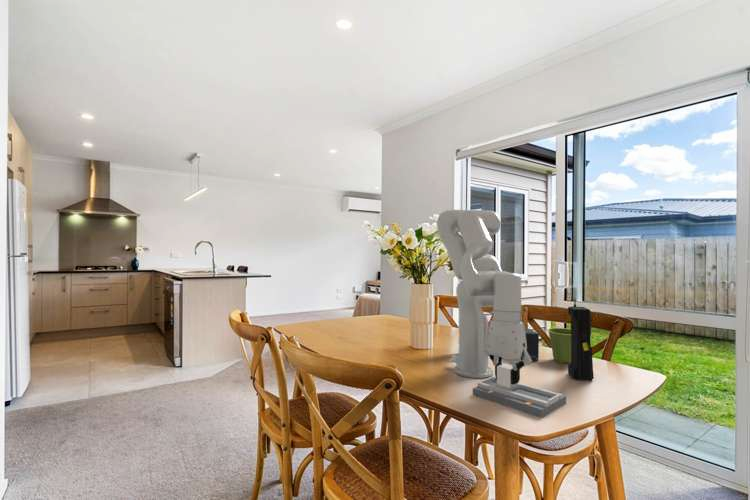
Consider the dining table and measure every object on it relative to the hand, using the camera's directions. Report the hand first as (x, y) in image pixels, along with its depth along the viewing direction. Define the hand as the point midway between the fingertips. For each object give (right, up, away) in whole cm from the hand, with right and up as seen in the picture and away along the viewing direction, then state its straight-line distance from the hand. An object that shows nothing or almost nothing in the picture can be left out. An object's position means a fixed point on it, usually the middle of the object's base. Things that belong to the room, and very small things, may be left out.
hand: (507, 380), depth 111 cm
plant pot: (+34, -5, +36) cm, 49 cm away
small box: (+21, -5, +41) cm, 46 cm away
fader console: (+2, -4, -2) cm, 5 cm away
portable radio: (+30, -5, +16) cm, 34 cm away
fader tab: (0, -2, 0) cm, 2 cm away
